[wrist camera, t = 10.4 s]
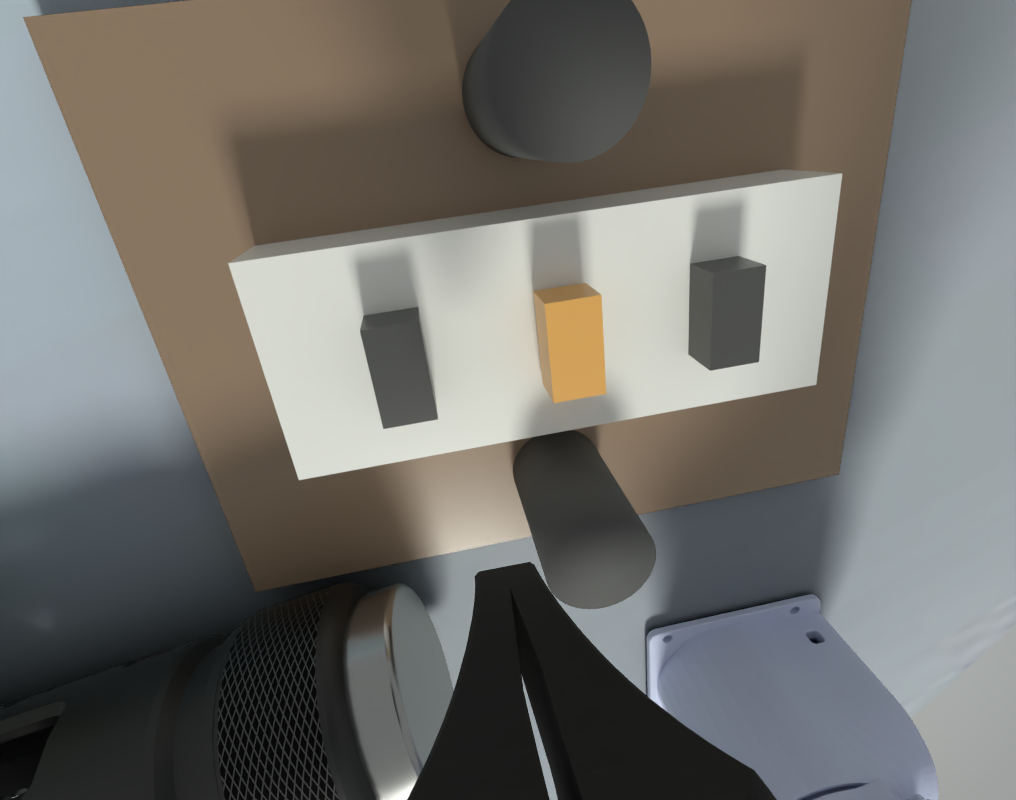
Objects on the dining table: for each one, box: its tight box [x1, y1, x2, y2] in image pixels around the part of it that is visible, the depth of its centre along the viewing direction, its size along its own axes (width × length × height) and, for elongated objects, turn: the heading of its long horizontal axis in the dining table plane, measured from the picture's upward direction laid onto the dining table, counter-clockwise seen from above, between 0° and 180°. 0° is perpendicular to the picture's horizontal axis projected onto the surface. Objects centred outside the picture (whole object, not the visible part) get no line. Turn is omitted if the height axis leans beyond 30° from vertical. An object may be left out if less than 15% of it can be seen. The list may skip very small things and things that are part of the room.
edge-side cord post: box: [462, 0, 651, 163], centre depth 15 cm, size 4×4×6 cm
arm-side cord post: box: [513, 430, 656, 609], centre depth 21 cm, size 4×4×6 cm
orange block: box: [533, 283, 606, 403], centre depth 17 cm, size 2×3×2 cm, turn 6°
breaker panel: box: [23, 0, 912, 592], centre depth 19 cm, size 26×20×6 cm
